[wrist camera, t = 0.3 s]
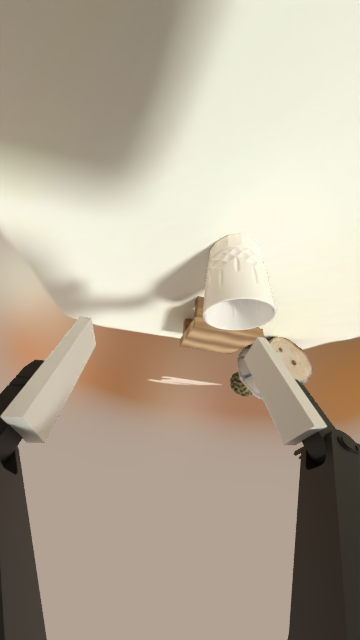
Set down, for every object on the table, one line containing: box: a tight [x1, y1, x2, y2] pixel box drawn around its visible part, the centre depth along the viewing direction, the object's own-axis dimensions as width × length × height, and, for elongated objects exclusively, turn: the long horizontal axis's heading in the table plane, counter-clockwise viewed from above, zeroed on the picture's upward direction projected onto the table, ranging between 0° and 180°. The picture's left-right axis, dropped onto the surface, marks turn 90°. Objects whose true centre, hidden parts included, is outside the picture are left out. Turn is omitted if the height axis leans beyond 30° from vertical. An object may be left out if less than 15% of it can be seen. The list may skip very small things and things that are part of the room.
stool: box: [180, 296, 264, 354], centre depth 38 cm, size 14×14×7 cm
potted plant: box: [230, 337, 313, 399], centre depth 55 cm, size 18×18×30 cm
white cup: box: [203, 233, 277, 330], centre depth 20 cm, size 8×8×10 cm
